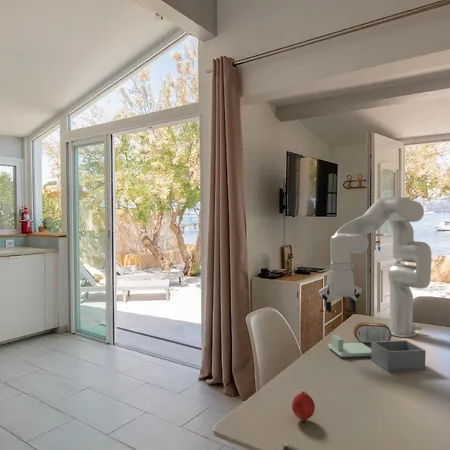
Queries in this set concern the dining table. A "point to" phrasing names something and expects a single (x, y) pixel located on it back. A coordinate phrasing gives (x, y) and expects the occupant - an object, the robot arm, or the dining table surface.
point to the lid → (348, 348)
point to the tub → (398, 356)
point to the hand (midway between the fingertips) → (340, 310)
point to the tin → (372, 332)
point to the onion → (303, 406)
